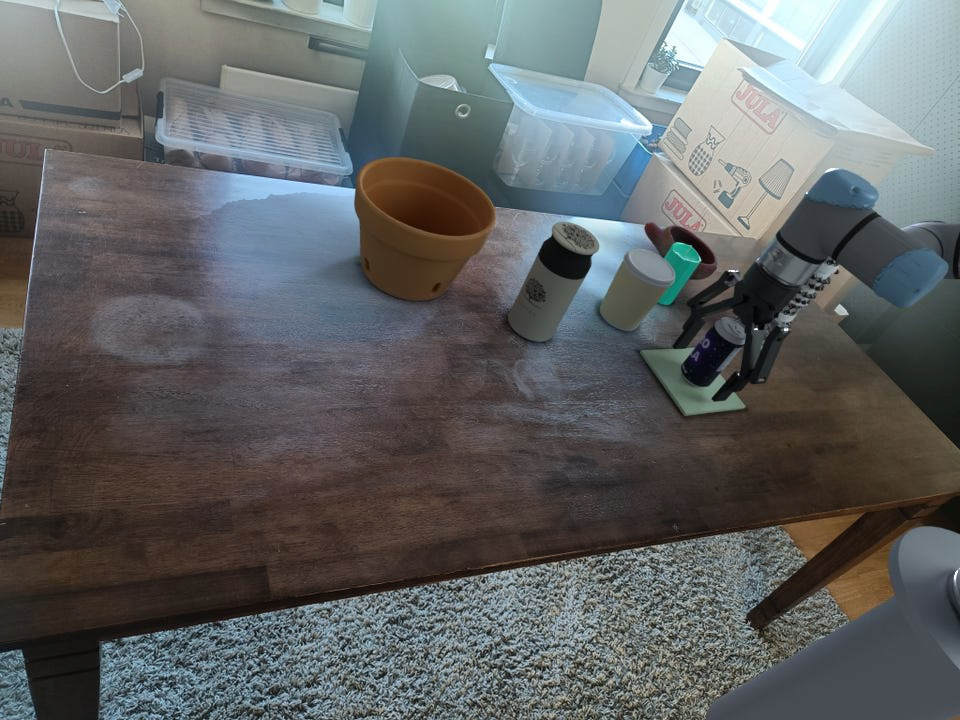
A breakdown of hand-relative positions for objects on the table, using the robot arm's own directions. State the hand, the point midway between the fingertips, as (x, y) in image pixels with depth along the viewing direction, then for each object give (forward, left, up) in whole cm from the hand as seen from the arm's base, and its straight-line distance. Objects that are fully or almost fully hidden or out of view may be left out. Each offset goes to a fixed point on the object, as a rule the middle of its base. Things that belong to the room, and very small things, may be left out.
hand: (697, 372), depth 106 cm
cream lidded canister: (+16, +6, -2) cm, 17 cm away
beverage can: (0, 0, -2) cm, 2 cm away
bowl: (+30, -17, -2) cm, 35 cm away
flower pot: (+27, +44, -2) cm, 52 cm away
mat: (0, 0, -2) cm, 2 cm away
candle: (+22, -8, -2) cm, 24 cm away
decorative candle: (+10, -24, -2) cm, 26 cm away
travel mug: (+14, +26, -2) cm, 30 cm away
